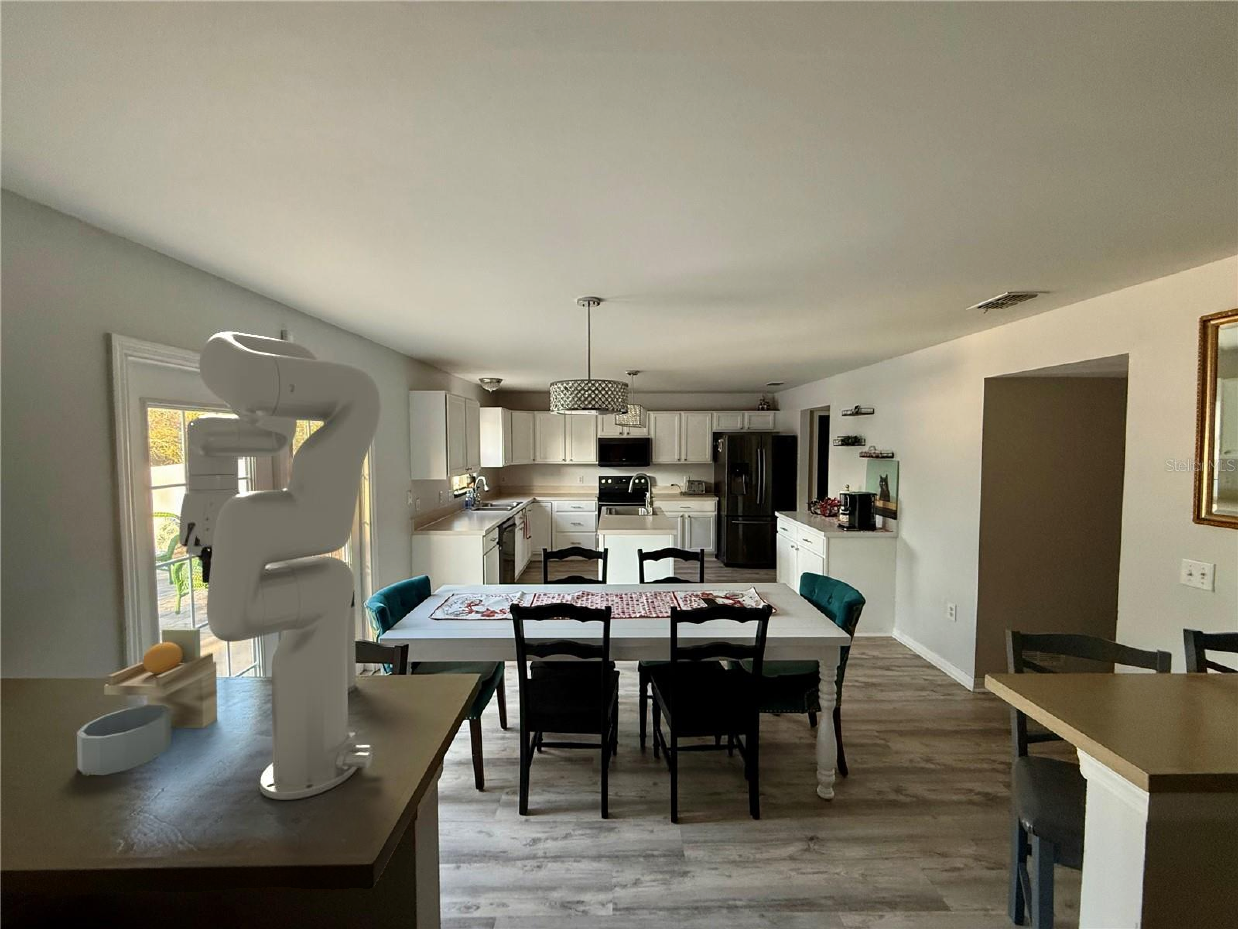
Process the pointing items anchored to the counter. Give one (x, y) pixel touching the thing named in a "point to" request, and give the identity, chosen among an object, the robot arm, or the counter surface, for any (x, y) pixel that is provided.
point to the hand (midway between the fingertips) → (215, 581)
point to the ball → (162, 657)
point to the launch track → (174, 690)
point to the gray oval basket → (123, 739)
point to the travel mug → (351, 649)
